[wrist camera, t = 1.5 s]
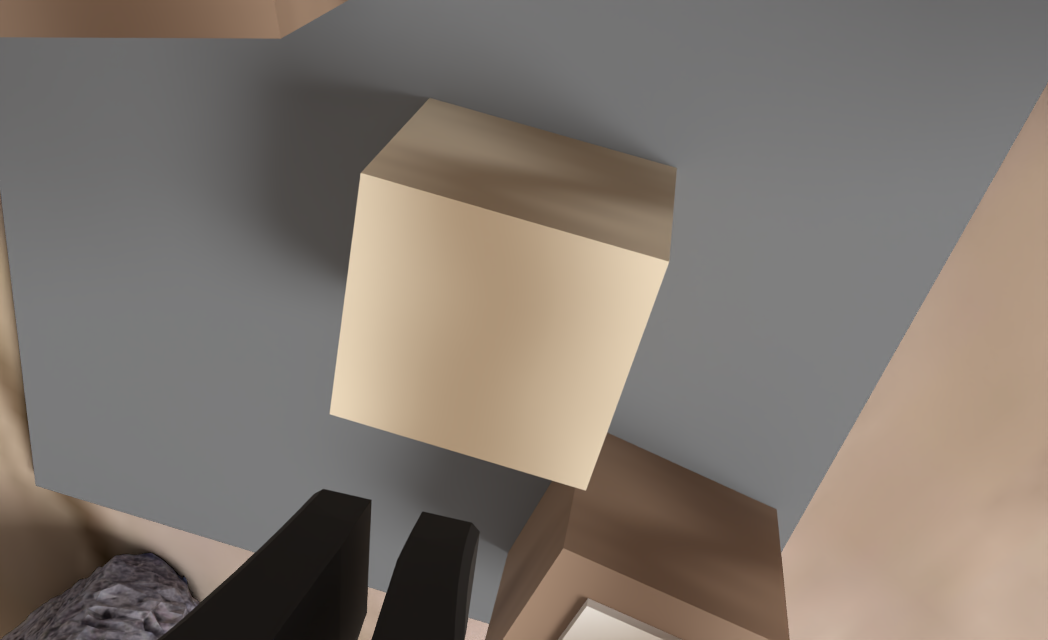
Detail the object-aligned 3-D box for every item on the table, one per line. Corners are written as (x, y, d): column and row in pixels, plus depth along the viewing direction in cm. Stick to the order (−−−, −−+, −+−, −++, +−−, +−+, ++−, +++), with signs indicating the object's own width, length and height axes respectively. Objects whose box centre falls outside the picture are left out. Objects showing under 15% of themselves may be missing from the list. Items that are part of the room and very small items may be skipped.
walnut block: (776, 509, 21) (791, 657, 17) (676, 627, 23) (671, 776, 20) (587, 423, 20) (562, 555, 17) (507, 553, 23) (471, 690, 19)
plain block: (677, 167, 17) (669, 261, 13) (606, 370, 19) (585, 490, 16) (429, 97, 17) (360, 172, 14) (394, 308, 20) (329, 413, 16)
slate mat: (1287, -367, 12) (1304, -371, 11) (703, 676, 25) (703, 689, 24) (-89, -719, 12) (-111, -734, 12) (44, 476, 25) (35, 485, 25)
